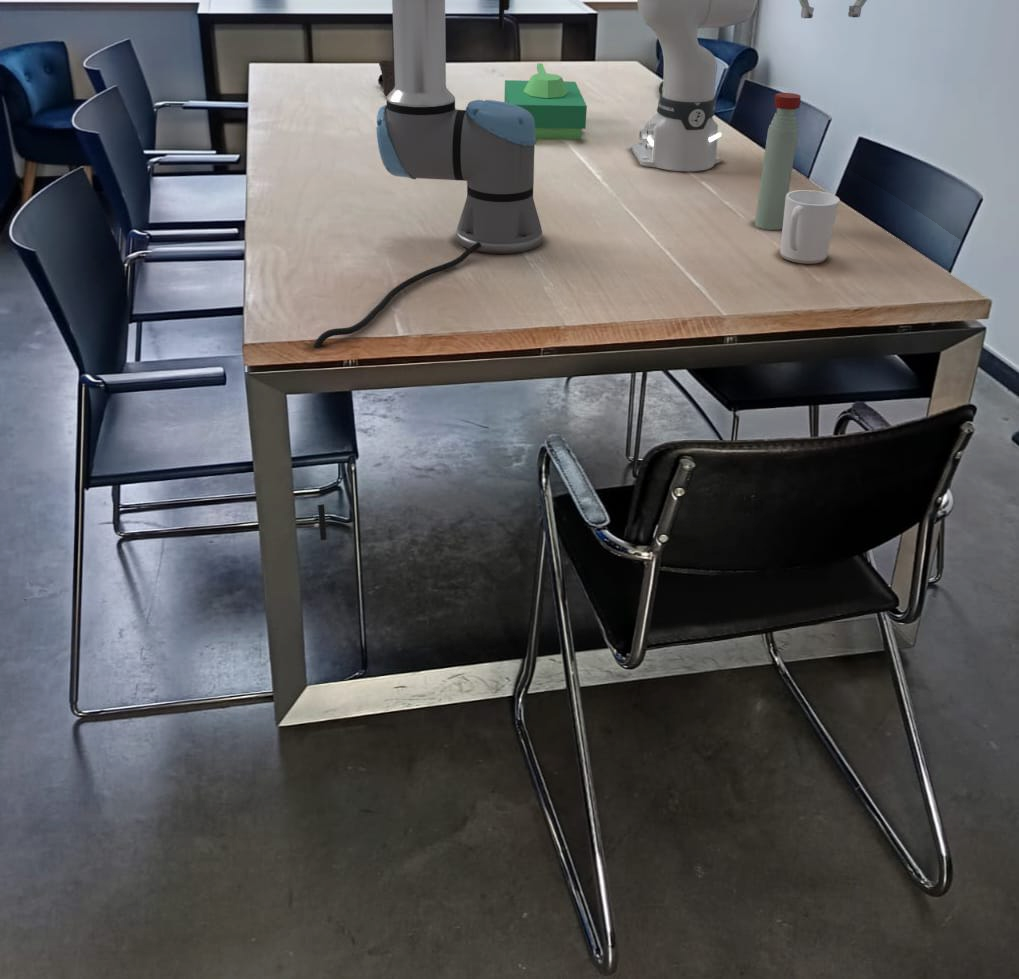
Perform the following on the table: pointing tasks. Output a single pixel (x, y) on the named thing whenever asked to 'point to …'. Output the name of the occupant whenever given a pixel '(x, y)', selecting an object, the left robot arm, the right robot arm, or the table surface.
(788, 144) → the bottle
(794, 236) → the mug
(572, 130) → the toy tank
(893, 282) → the table surface
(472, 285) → the table surface
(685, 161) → the right robot arm
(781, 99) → the cap
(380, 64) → the axe head
